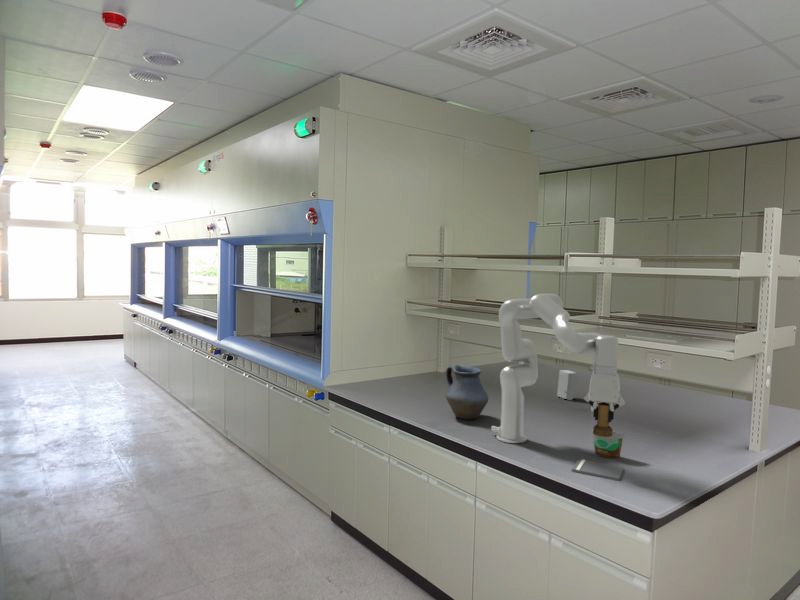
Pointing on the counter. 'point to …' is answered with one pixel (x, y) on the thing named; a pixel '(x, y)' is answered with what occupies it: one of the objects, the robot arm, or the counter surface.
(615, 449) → the food container
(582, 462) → the mat
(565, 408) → the counter surface
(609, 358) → the robot arm
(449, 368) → the pitcher
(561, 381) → the skincare box
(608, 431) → the brown wooden turned post
